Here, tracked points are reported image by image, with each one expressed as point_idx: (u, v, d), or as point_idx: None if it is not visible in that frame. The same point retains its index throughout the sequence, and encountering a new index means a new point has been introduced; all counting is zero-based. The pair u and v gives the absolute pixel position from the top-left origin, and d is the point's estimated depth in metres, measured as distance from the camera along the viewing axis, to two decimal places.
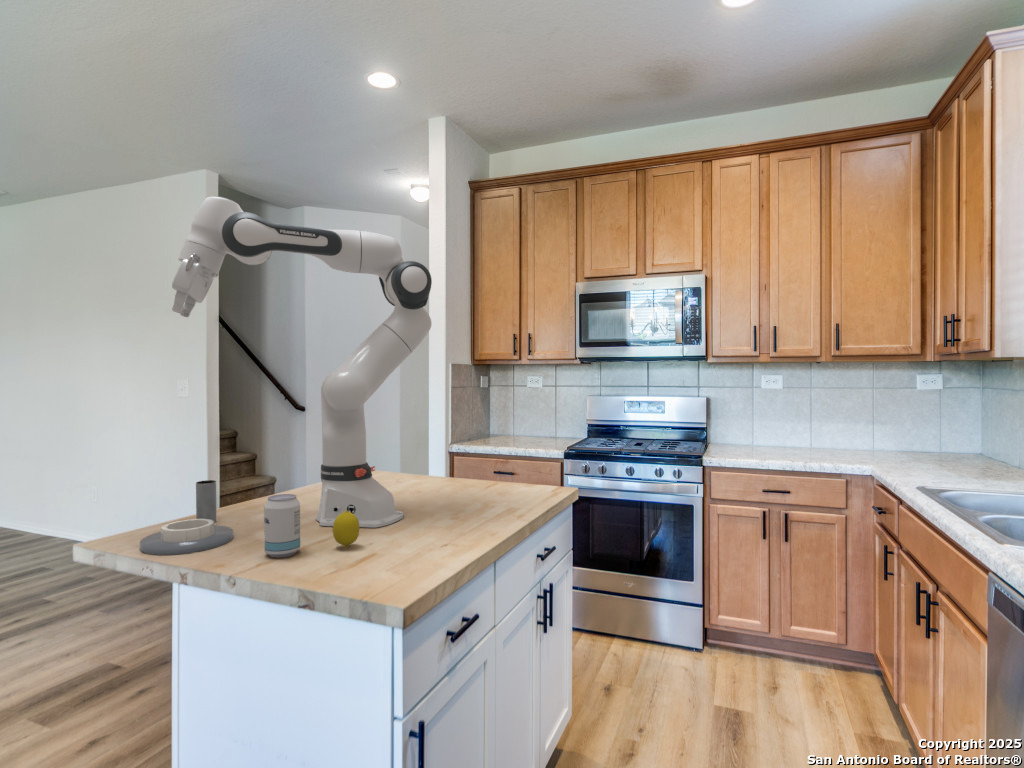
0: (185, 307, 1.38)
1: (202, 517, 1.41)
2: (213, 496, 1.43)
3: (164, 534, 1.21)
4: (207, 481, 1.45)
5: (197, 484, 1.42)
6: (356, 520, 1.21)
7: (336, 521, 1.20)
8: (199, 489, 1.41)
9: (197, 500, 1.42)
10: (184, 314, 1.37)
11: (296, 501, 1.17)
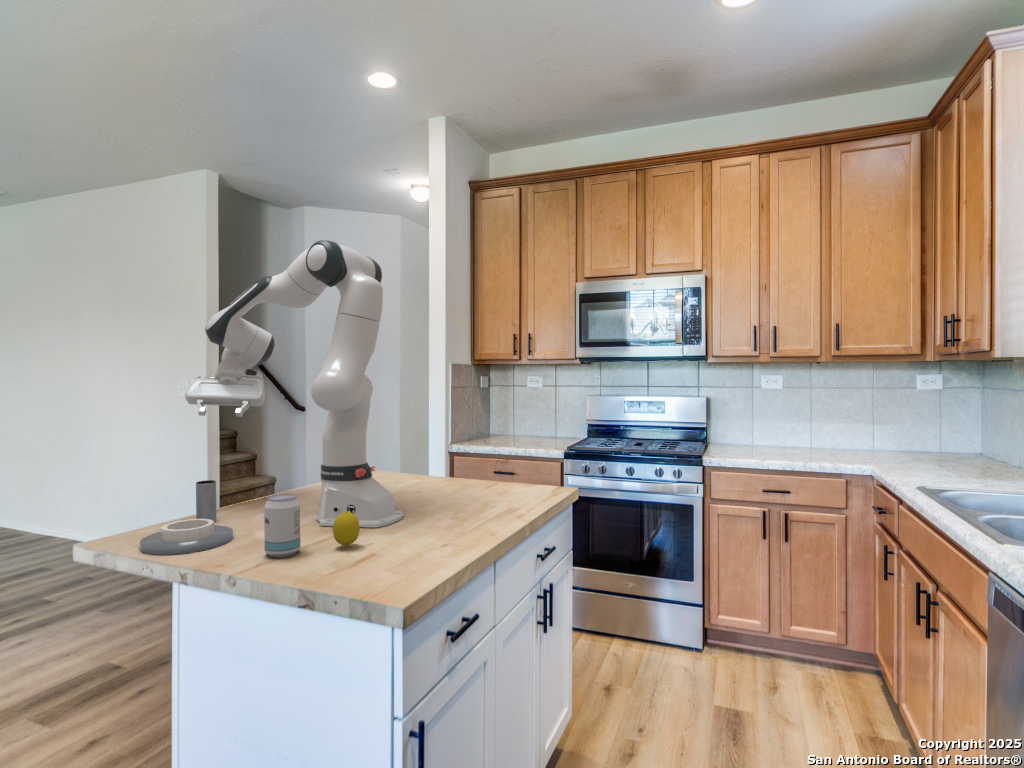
0: None
1: (202, 517, 1.41)
2: (213, 496, 1.43)
3: (164, 534, 1.21)
4: (207, 481, 1.45)
5: (197, 484, 1.42)
6: (356, 520, 1.21)
7: (336, 521, 1.20)
8: (199, 489, 1.41)
9: (197, 500, 1.42)
10: None
11: (296, 501, 1.17)
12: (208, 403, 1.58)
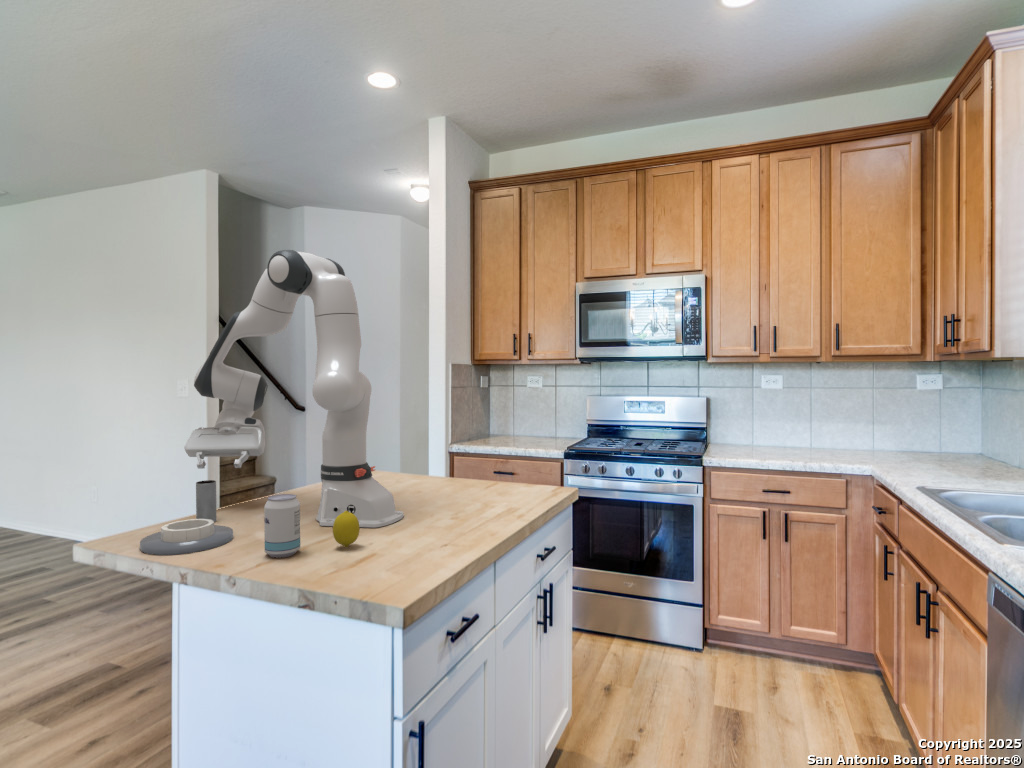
0: None
1: (202, 517, 1.41)
2: (213, 496, 1.43)
3: (164, 534, 1.21)
4: (207, 481, 1.45)
5: (197, 484, 1.42)
6: (356, 520, 1.21)
7: (336, 521, 1.20)
8: (199, 489, 1.41)
9: (197, 500, 1.42)
10: None
11: (296, 501, 1.17)
12: (208, 455, 1.55)
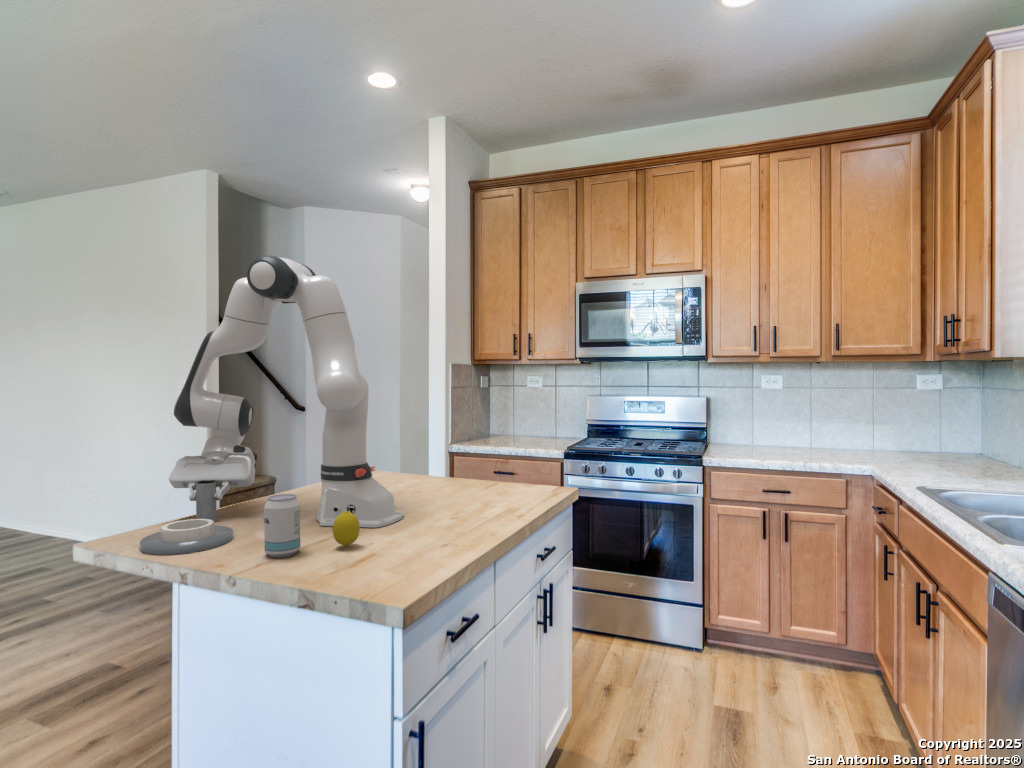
0: None
1: (202, 517, 1.41)
2: (213, 496, 1.43)
3: (164, 534, 1.21)
4: (207, 481, 1.45)
5: (197, 484, 1.42)
6: (356, 520, 1.21)
7: (336, 521, 1.20)
8: (199, 489, 1.41)
9: (197, 500, 1.42)
10: None
11: (296, 501, 1.17)
12: None
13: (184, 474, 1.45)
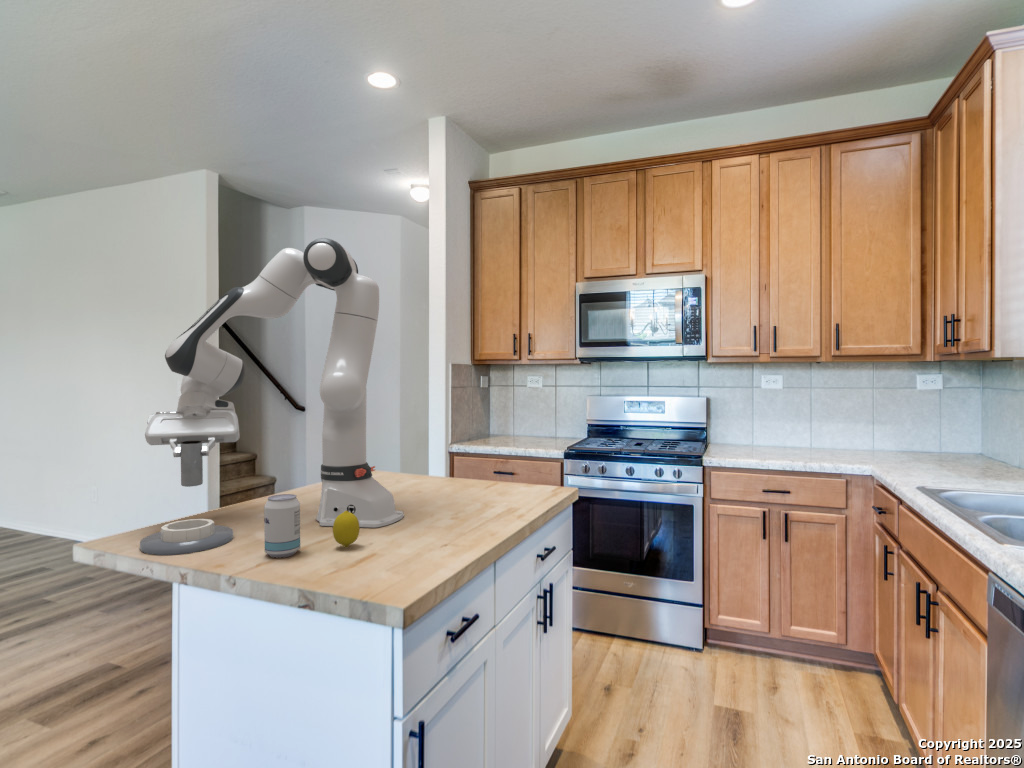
0: None
1: (190, 479, 1.33)
2: (200, 457, 1.35)
3: (164, 534, 1.21)
4: (190, 441, 1.36)
5: (183, 444, 1.32)
6: (356, 520, 1.21)
7: (336, 521, 1.20)
8: (185, 450, 1.32)
9: (183, 461, 1.33)
10: (202, 452, 1.35)
11: (296, 501, 1.17)
12: None
13: (163, 429, 1.35)
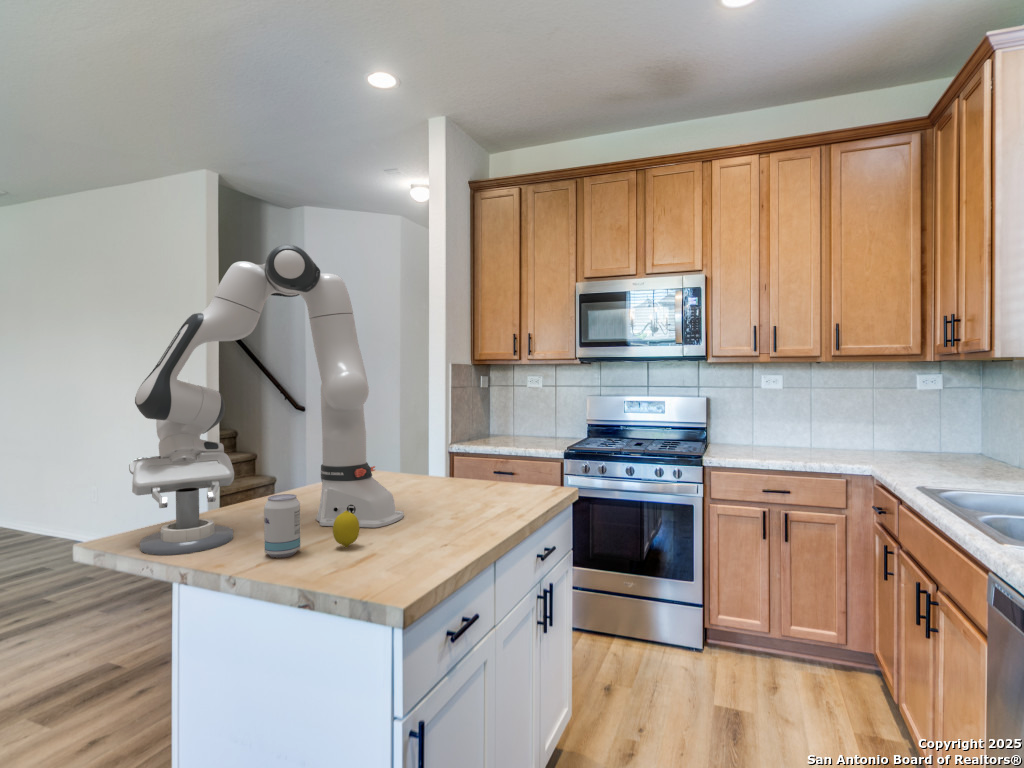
0: None
1: None
2: (198, 505, 1.27)
3: (164, 534, 1.21)
4: (184, 489, 1.27)
5: (181, 493, 1.24)
6: (356, 520, 1.21)
7: (336, 521, 1.20)
8: (184, 498, 1.24)
9: (181, 511, 1.24)
10: None
11: (296, 501, 1.17)
12: (163, 491, 1.26)
13: (152, 477, 1.24)
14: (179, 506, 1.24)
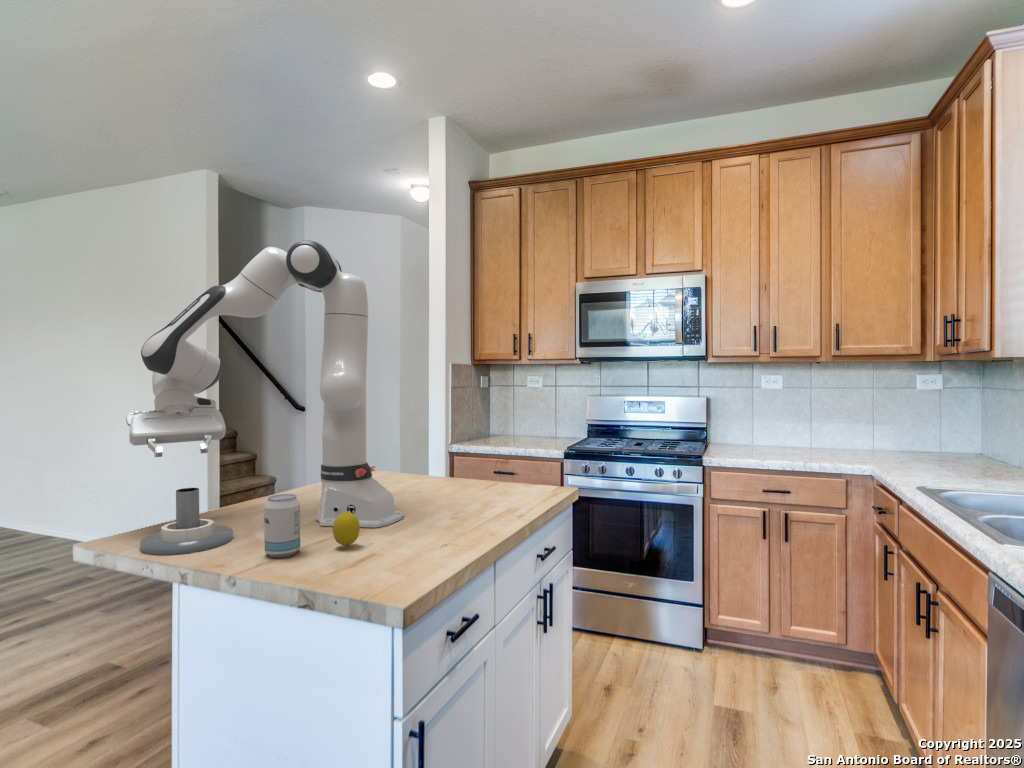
0: None
1: None
2: (198, 505, 1.27)
3: (164, 534, 1.21)
4: (184, 489, 1.27)
5: (181, 493, 1.24)
6: (356, 520, 1.21)
7: (336, 521, 1.20)
8: (184, 498, 1.24)
9: (181, 511, 1.24)
10: (201, 450, 1.36)
11: (296, 501, 1.17)
12: (158, 442, 1.34)
13: (148, 429, 1.32)
14: (179, 506, 1.24)
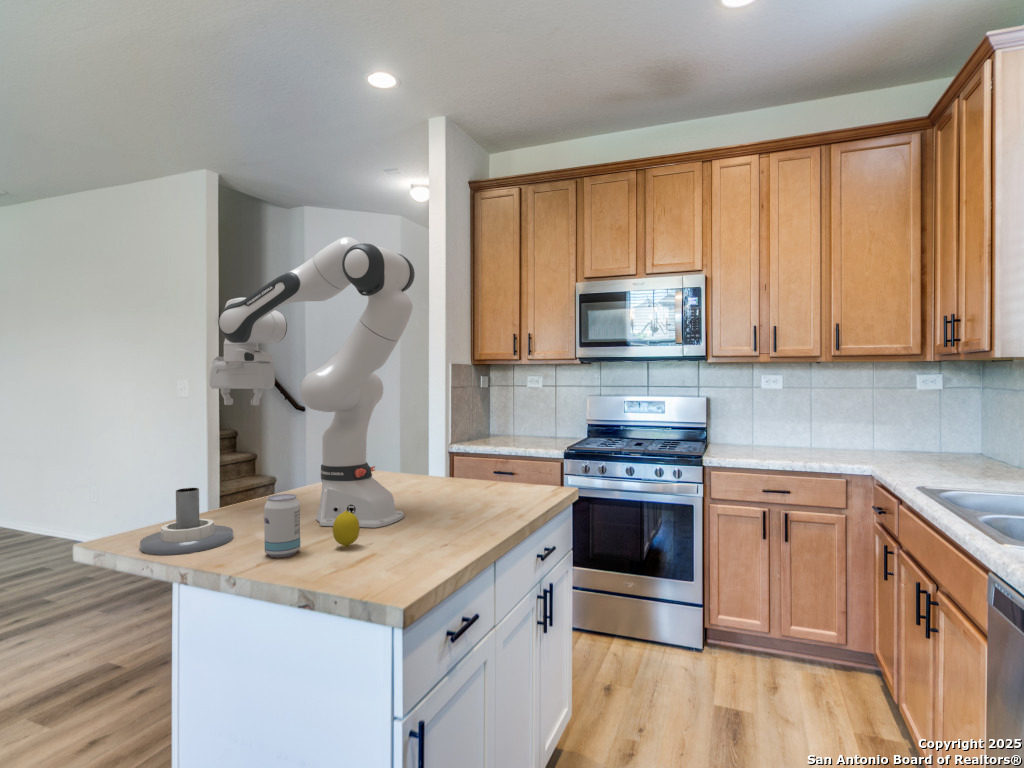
0: None
1: None
2: (198, 505, 1.27)
3: (164, 534, 1.21)
4: (184, 489, 1.27)
5: (181, 493, 1.24)
6: (356, 520, 1.21)
7: (336, 521, 1.20)
8: (184, 498, 1.24)
9: (181, 511, 1.24)
10: None
11: (296, 501, 1.17)
12: None
13: (218, 381, 1.59)
14: (179, 506, 1.24)
